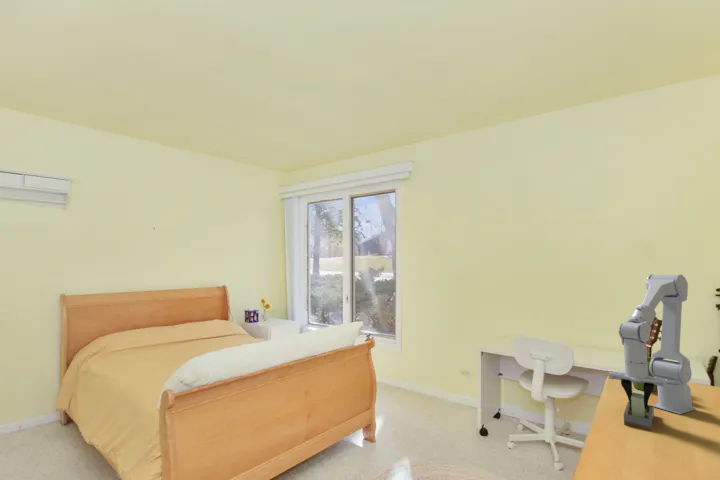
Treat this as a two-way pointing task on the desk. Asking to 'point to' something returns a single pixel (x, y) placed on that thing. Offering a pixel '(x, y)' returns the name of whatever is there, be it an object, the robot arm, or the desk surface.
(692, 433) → the desk surface
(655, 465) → the desk surface
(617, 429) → the desk surface
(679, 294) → the robot arm
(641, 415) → the pale green rectangular block
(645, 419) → the grey rectangular tray
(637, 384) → the plant pot
